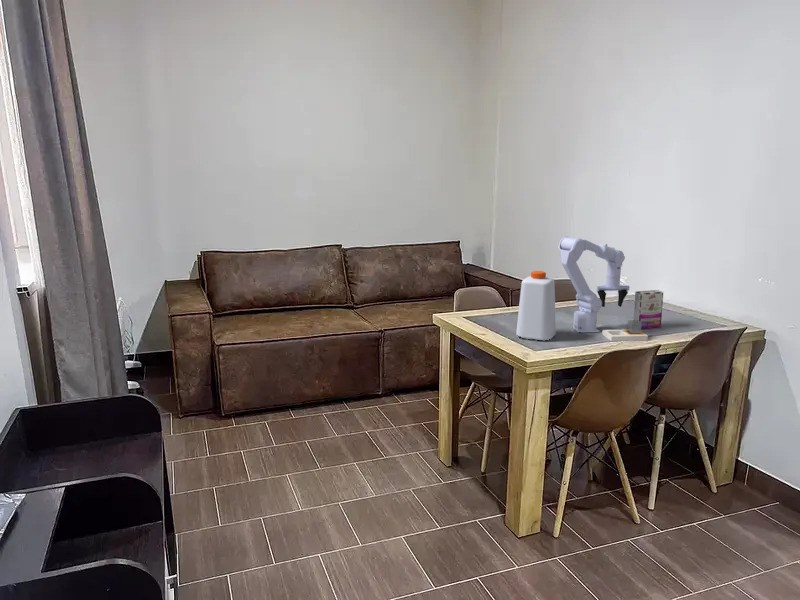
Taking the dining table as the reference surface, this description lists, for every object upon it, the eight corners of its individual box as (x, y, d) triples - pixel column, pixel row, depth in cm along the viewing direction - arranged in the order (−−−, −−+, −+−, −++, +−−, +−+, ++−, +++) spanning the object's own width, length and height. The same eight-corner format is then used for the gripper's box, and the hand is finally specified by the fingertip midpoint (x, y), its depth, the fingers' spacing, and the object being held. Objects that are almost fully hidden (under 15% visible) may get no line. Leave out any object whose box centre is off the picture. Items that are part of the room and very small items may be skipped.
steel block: (630, 338, 252) (632, 322, 251) (627, 336, 256) (628, 320, 255) (640, 338, 252) (641, 322, 251) (636, 335, 256) (637, 320, 255)
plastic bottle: (549, 343, 248) (552, 276, 242) (513, 338, 255) (515, 273, 248) (557, 333, 261) (560, 270, 255) (523, 329, 268) (525, 267, 261)
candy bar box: (654, 324, 273) (657, 289, 269) (661, 327, 268) (664, 291, 265) (632, 326, 271) (634, 290, 267) (638, 329, 266) (641, 293, 263)
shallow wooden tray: (611, 341, 249) (611, 336, 249) (602, 334, 259) (602, 329, 258) (647, 340, 250) (648, 335, 249) (637, 333, 260) (637, 328, 259)
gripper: (600, 278, 262) (598, 308, 265) (633, 277, 262) (630, 308, 265) (594, 275, 268) (592, 305, 272) (626, 274, 269) (624, 304, 272)
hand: (611, 306), depth 269 cm, fingers open, 7 cm apart
